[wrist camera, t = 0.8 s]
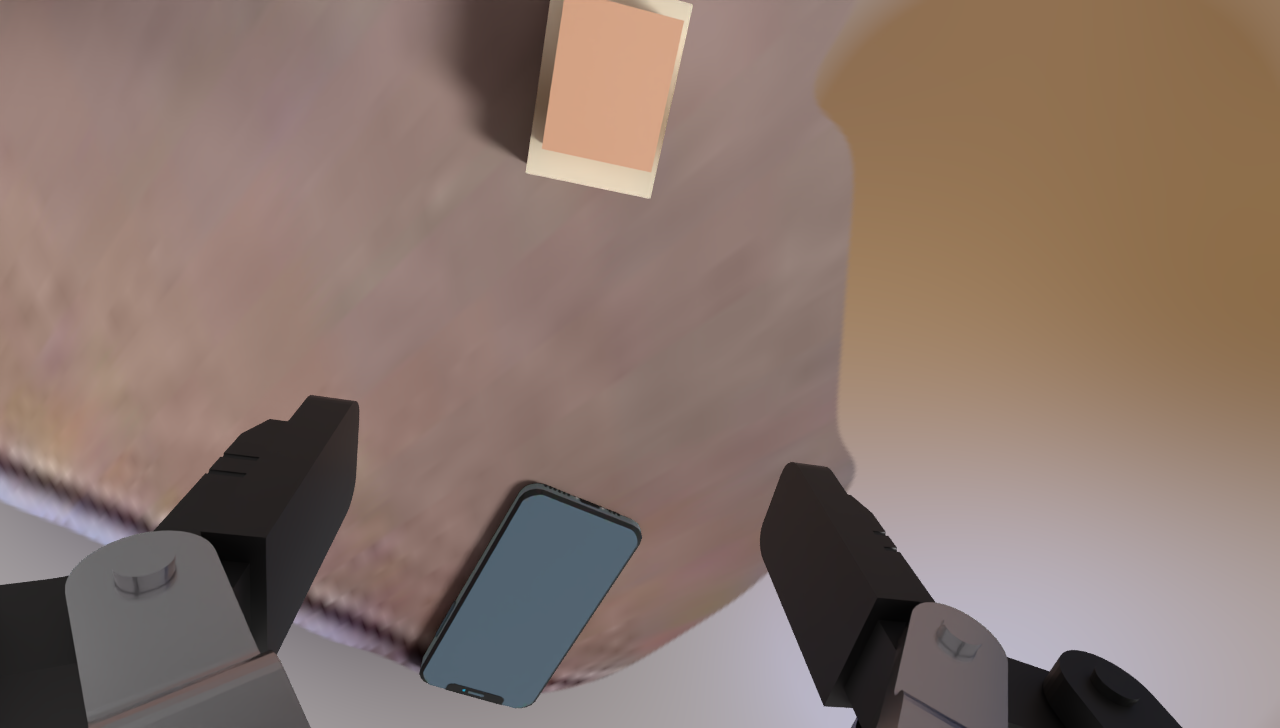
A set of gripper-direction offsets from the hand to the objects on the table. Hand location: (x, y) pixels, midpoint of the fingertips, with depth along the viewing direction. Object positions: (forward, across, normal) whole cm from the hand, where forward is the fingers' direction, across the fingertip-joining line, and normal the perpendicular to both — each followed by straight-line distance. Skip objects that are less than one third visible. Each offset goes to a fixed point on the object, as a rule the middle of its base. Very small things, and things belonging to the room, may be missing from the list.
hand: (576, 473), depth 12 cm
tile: (+16, 0, -7) cm, 17 cm away
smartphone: (+19, -1, +21) cm, 28 cm away
